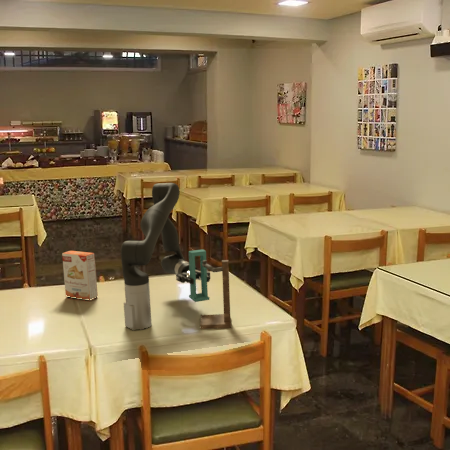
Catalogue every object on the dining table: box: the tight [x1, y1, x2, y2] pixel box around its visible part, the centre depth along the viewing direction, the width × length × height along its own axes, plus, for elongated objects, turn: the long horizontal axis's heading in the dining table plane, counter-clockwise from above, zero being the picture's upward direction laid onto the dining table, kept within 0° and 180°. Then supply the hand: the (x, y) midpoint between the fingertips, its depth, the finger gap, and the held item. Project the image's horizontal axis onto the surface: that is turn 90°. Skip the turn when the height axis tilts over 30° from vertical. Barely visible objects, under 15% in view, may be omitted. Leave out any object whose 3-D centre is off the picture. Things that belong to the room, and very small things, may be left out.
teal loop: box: [188, 248, 210, 303], centre depth 239 cm, size 6×7×20 cm
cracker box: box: [61, 250, 99, 300], centre depth 267 cm, size 14×6×21 cm, turn 62°
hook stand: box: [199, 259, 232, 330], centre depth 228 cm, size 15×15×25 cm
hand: (200, 280), depth 237 cm, fingers closed on teal loop, 6 cm apart
